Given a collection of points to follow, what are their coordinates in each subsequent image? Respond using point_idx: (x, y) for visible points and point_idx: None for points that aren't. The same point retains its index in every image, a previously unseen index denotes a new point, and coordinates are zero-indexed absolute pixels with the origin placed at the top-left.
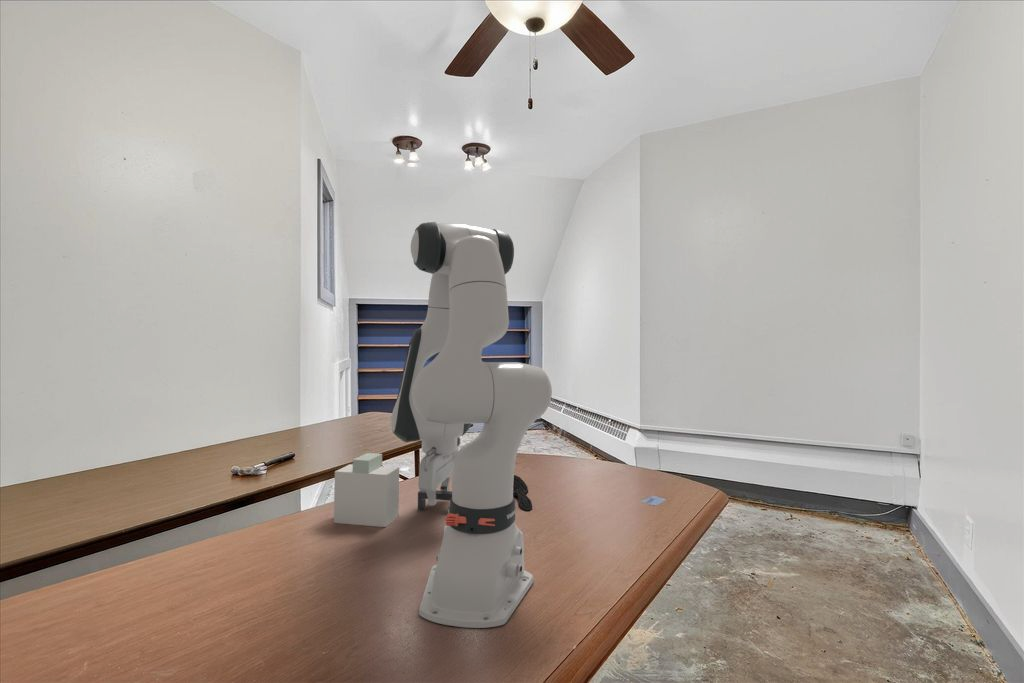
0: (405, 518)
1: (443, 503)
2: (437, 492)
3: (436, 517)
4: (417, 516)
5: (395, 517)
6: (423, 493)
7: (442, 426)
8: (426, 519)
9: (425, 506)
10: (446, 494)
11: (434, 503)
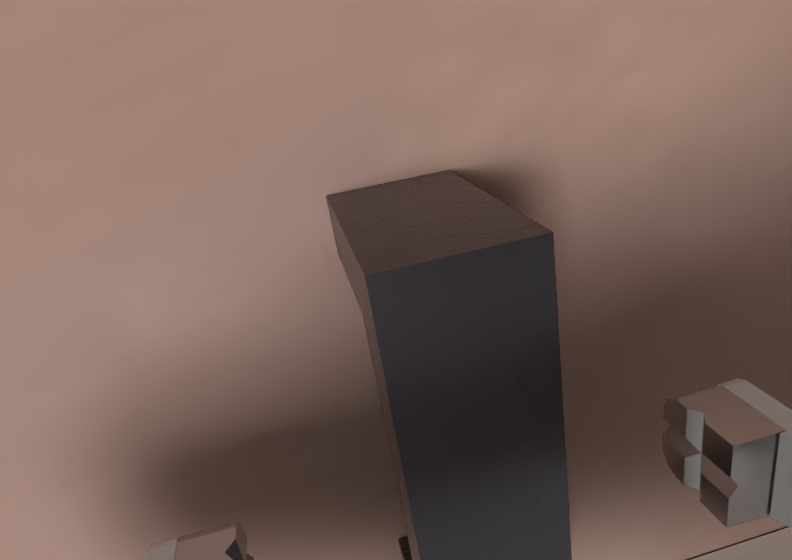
0: (695, 502)
1: (209, 466)
2: (519, 553)
3: (624, 298)
4: (637, 455)
5: (731, 558)
6: None
7: None
8: (688, 350)
9: (402, 544)
10: (557, 401)
11: (750, 388)
